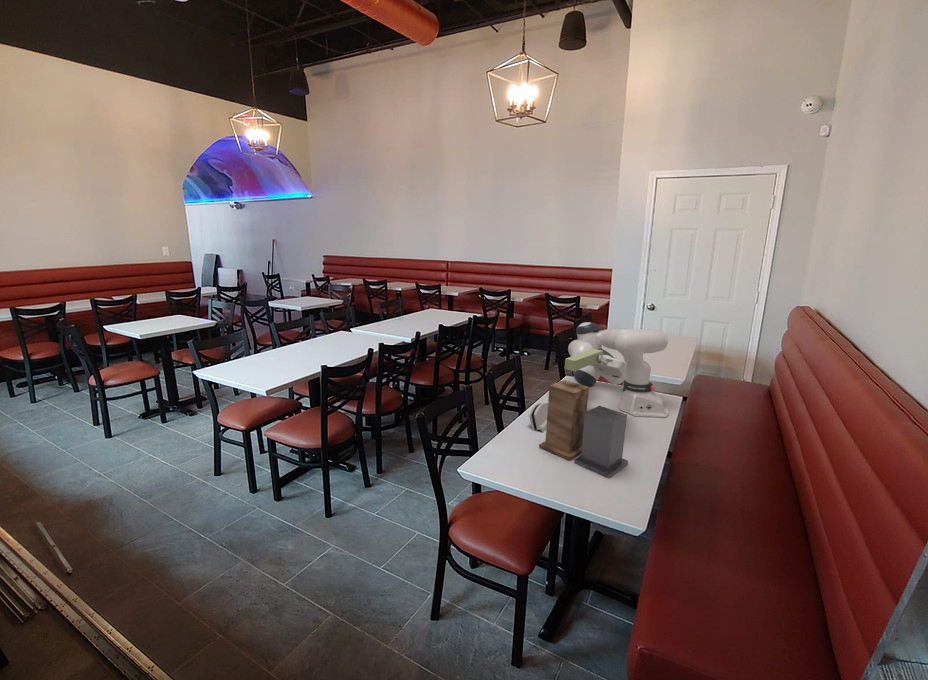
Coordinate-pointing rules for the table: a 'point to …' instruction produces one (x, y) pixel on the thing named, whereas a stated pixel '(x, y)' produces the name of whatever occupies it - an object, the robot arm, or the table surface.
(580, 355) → the pale green plank
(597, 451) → the block
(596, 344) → the robot arm
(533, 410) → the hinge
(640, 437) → the table surface
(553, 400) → the brown wooden pedestal
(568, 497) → the table surface
